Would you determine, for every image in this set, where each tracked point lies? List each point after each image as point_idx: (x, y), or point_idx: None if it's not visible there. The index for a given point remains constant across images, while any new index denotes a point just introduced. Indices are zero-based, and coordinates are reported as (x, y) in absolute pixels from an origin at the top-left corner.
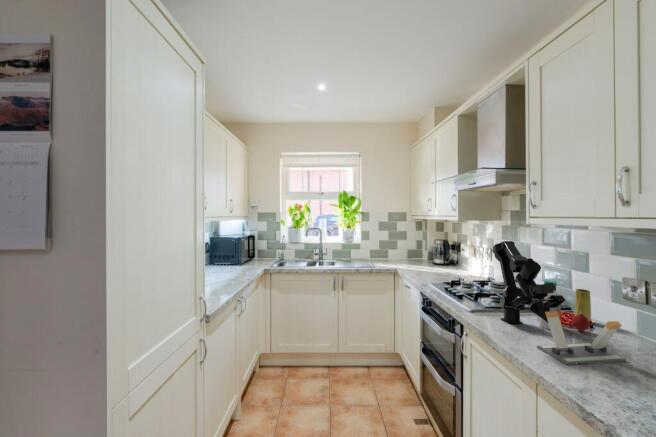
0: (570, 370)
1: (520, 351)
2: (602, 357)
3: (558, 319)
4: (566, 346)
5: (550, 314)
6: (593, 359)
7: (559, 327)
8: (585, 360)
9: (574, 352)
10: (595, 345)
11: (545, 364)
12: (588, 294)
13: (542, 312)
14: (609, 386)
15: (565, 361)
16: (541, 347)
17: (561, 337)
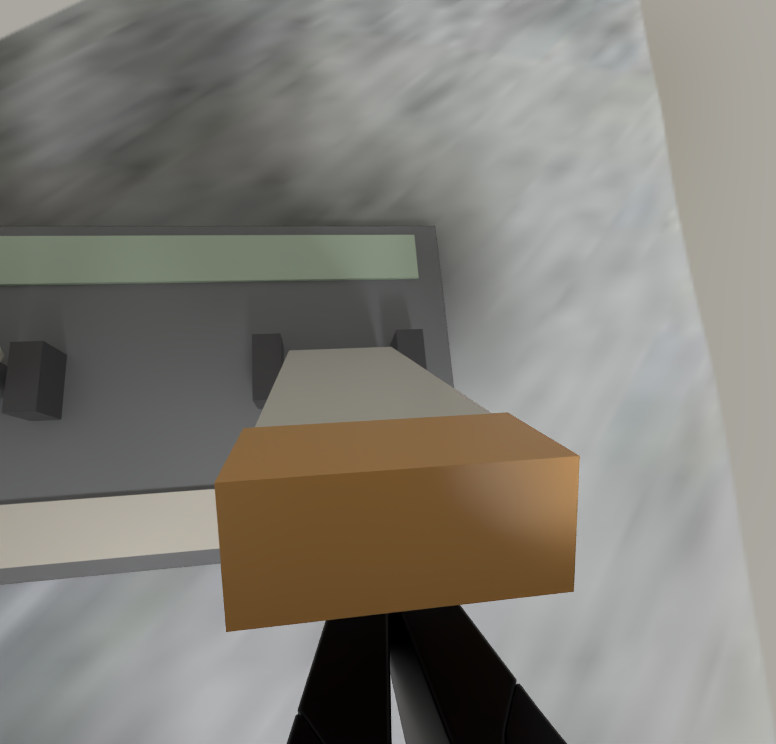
0: (461, 174)
1: (645, 470)
2: (58, 260)
3: (288, 416)
4: (304, 352)
5: (492, 432)
6: (180, 238)
7: (322, 383)
8: (261, 236)
9: (219, 376)
10: None
11: (573, 259)
12: None
13: (539, 726)
14: (376, 13)
15: (433, 240)
16: None
17: (334, 362)
